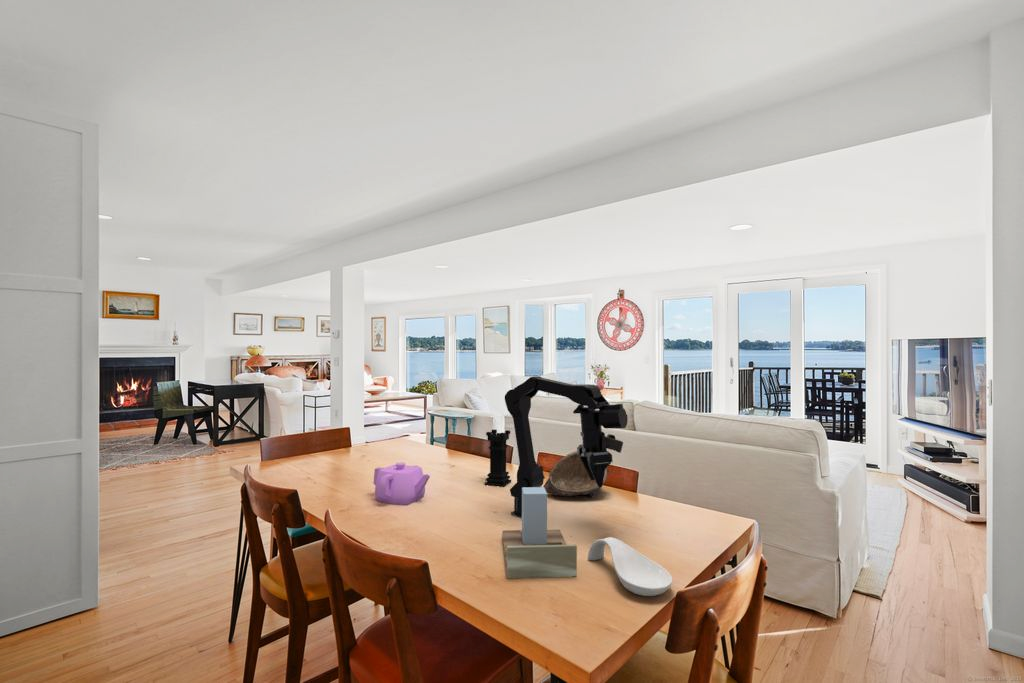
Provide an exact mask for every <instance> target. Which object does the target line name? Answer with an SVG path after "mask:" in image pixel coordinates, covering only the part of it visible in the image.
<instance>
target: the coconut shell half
mask: <svg viewBox="0 0 1024 683" xmlns="http://www.w3.org/2000/svg"><path fill="white" fill-rule="evenodd" d="M581 455H582V454H581ZM579 456H580V455H578V452H577V450H576V451H573V452H571V453H568V454H567V455H565V456H564V457H562V458H561V459H558V461H557V462H556V463H555V464H554V465H553V466H552V468H551V469H550V471H549V474H548V479H547V480H545V481H546V482H544V483H543V485H542V487H544V488H545V490H546V492H547V494H550V495H552V496H558V497H559V496H562V497H572V496H573V497H574V496H585V495H588V496H589V497H590V498H594V497H595V496H596V495H597V494H599V492H600V490H601V488H602V487H598V485H597V483H596V481H595V480H591V479H590V477H589V475H588V473H587V471H586V469H585V467H584V465H583V463H582V461H581V459H580V457H579ZM607 468H608V466H607V467H606V469H605V473H604V479H603V485H604V484H605V483H606V481H607V478H608V475H609V474H610V473H611V471H610V470H609V469H607Z"/></svg>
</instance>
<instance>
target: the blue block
mask: <svg viewBox="0 0 1024 683" xmlns="http://www.w3.org/2000/svg"><path fill="white" fill-rule="evenodd" d="M521 530H522V539H523V544H524V545H536V544H547V530H548V493H547V492H546V490H545V488H544V487H543V486H541V487H522V517H521Z"/></svg>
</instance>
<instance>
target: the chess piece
mask: <svg viewBox="0 0 1024 683" xmlns="http://www.w3.org/2000/svg"><path fill="white" fill-rule="evenodd" d="M510 434H511V430H508V429H507V430H505V431H504V432H498V430H497V429H491V431H486V432H485V436H487V441H488V442H489V446H488V449H489V463H490V464H489V473H488V474H487V476H486V478H485V482H484V486H487V485H488V487H489V486H490V487H497V486H499V487H498V488H505V487H506V485H507V486H508V485H509V484H510V483H512V479H510V478H511V475H509V474H510V473H509V471H507V448H508V445H507V441H508V440H510Z"/></svg>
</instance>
